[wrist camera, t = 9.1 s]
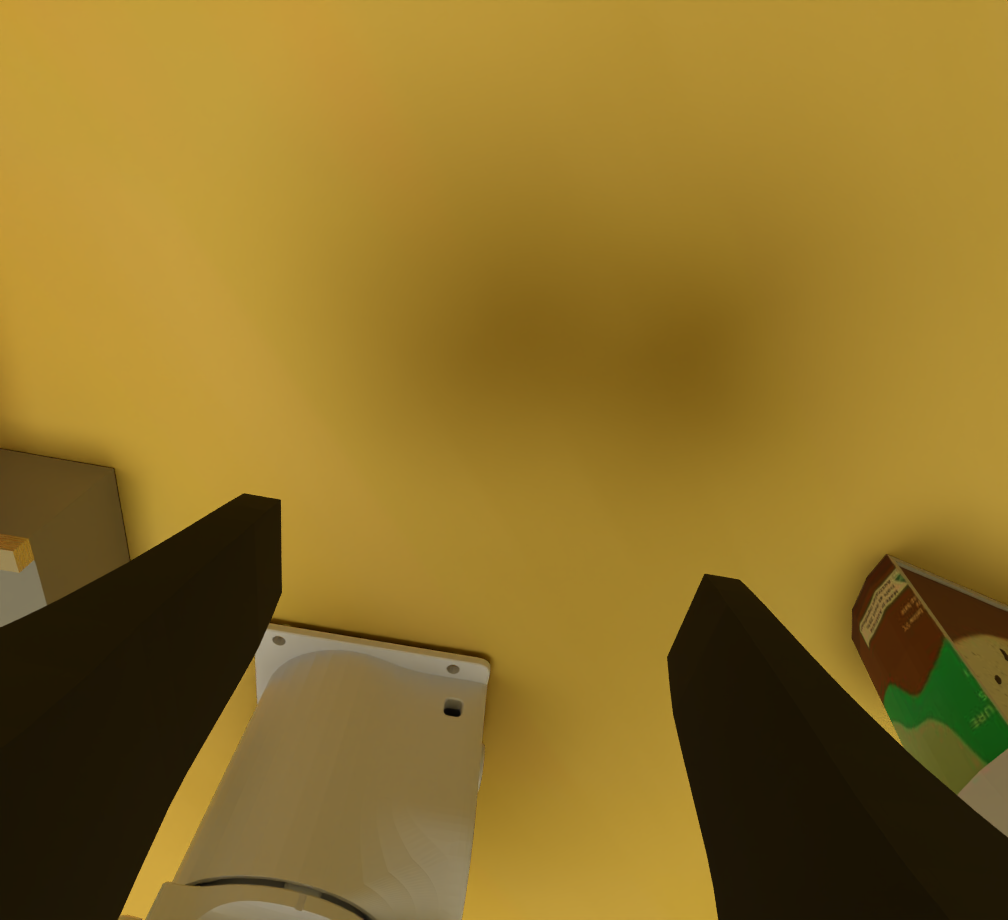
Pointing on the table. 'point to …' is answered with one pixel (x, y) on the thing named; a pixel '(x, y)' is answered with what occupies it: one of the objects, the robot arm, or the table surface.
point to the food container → (941, 677)
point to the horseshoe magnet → (54, 530)
